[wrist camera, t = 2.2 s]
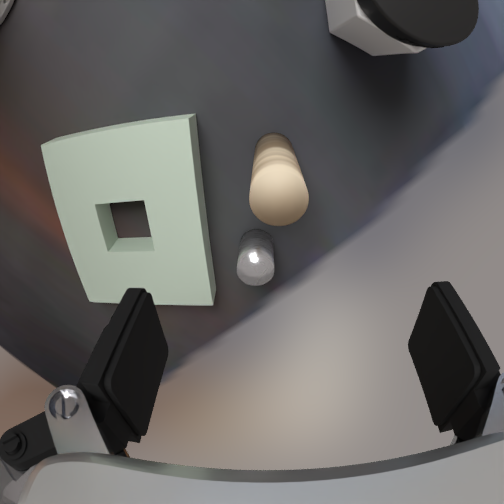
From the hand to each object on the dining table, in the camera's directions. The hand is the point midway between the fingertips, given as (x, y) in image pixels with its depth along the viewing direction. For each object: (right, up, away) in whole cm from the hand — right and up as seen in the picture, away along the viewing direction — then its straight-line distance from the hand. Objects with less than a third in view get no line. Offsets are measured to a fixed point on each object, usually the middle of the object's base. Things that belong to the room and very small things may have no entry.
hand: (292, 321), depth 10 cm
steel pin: (-1, +3, +24) cm, 24 cm away
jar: (+9, +24, +11) cm, 28 cm away
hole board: (-14, +6, +23) cm, 27 cm away
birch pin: (+1, +12, +19) cm, 22 cm away
